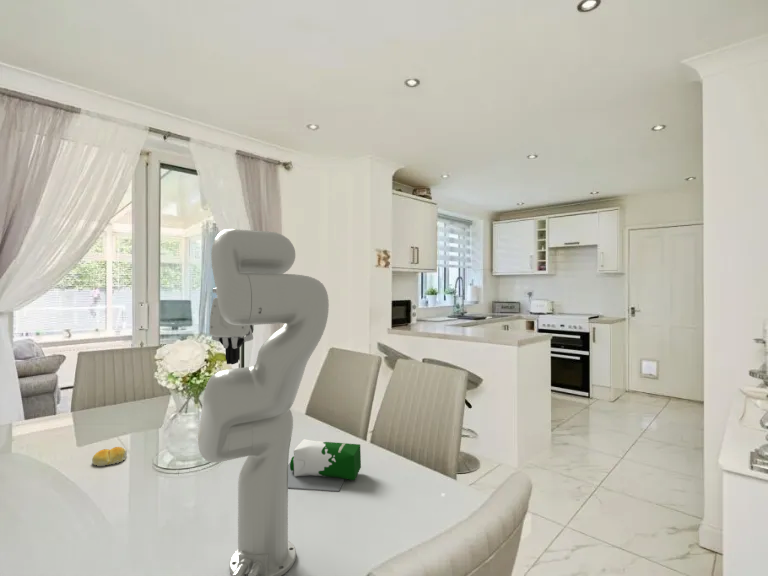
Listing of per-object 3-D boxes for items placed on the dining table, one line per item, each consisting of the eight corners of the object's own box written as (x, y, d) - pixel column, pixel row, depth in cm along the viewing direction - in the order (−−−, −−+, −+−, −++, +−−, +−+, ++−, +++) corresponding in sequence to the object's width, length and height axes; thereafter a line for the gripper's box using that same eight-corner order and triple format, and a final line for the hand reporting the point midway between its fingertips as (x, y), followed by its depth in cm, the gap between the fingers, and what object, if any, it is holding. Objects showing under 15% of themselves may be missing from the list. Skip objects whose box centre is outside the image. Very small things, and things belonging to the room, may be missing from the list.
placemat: (338, 491, 108) (338, 490, 108) (270, 487, 110) (270, 486, 110) (350, 465, 124) (350, 464, 124) (291, 462, 126) (291, 461, 126)
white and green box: (361, 469, 120) (299, 463, 124) (361, 439, 120) (298, 435, 124) (353, 485, 112) (286, 478, 116) (352, 453, 111) (285, 448, 115)
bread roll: (94, 459, 129) (94, 446, 129) (127, 454, 133) (127, 442, 133) (89, 469, 121) (89, 456, 121) (124, 464, 125) (124, 451, 125)
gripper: (197, 292, 102) (197, 365, 102) (253, 292, 100) (253, 366, 100) (213, 292, 109) (213, 360, 109) (266, 292, 107) (266, 361, 107)
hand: (232, 363), depth 104 cm, fingers closed
